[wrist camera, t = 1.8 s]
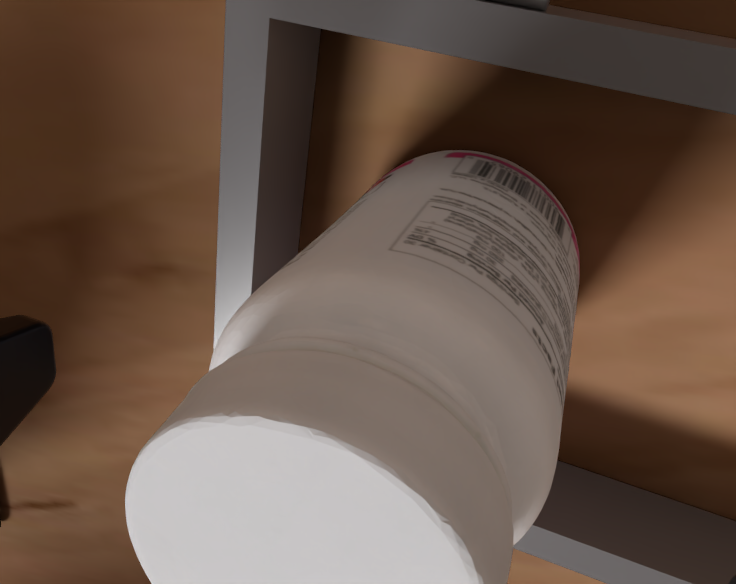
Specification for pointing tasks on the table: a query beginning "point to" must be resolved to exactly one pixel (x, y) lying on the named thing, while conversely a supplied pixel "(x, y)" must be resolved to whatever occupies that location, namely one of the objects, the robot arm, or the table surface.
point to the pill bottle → (377, 396)
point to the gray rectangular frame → (503, 48)
